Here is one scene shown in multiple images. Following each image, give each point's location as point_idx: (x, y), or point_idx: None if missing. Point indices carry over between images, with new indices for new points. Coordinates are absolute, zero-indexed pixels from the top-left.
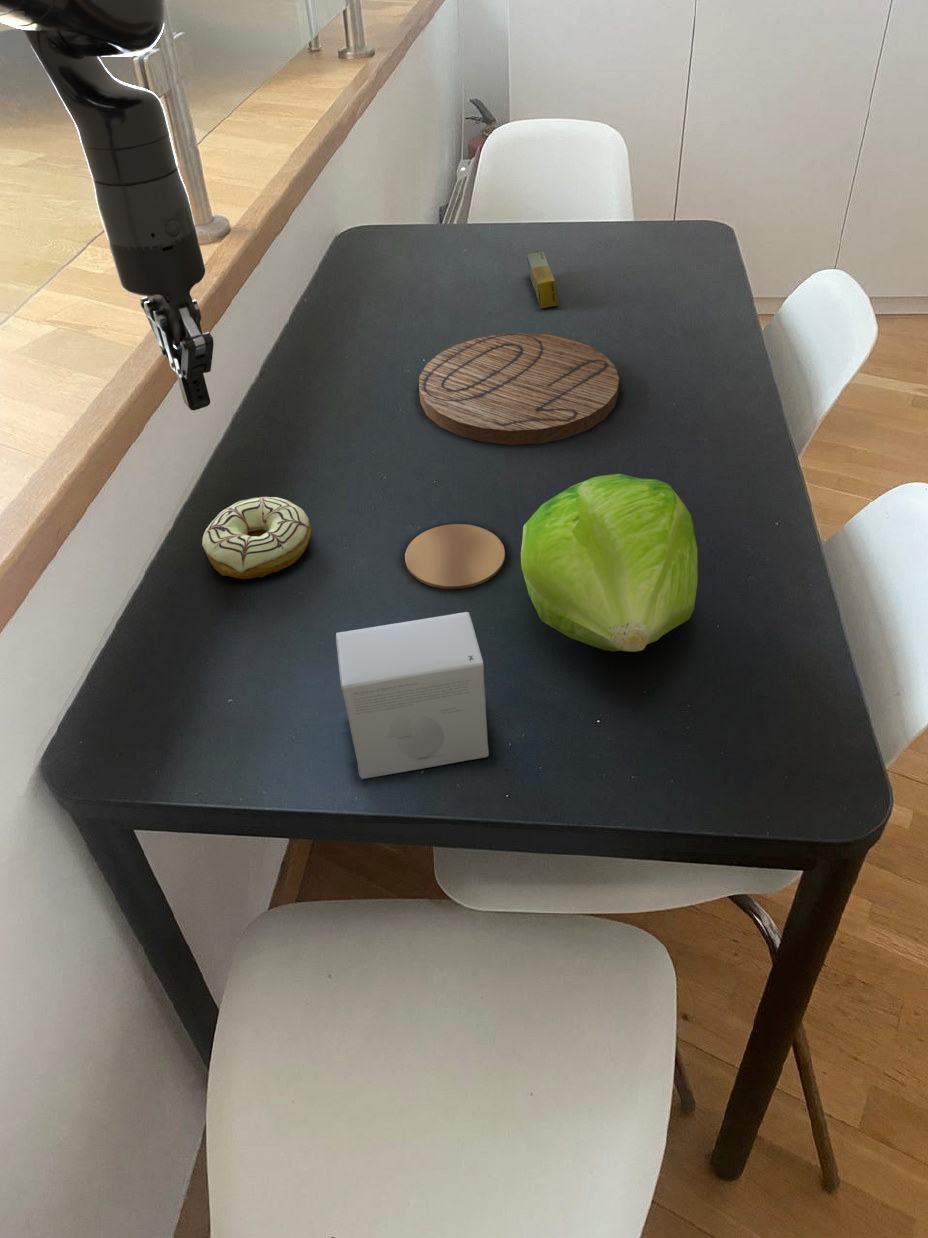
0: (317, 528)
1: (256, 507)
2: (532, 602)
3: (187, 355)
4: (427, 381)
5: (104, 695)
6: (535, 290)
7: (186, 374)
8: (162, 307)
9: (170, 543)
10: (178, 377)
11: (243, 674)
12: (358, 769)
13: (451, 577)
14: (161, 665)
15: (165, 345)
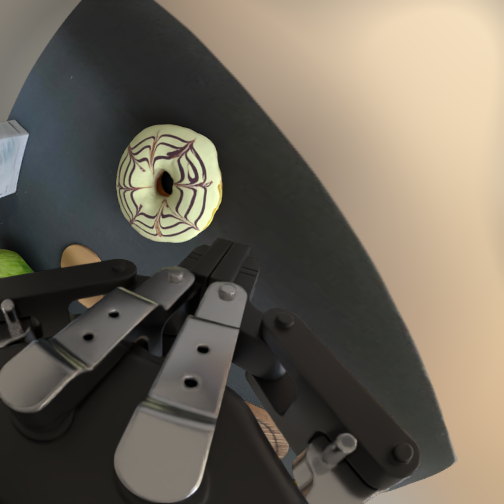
0: (168, 242)
1: (177, 207)
2: (7, 254)
3: (3, 279)
4: (264, 426)
5: (132, 5)
6: (296, 484)
7: (96, 262)
8: (23, 435)
9: (263, 119)
10: (218, 273)
11: (79, 92)
12: (11, 120)
13: (68, 258)
14: (122, 44)
15: (128, 313)
